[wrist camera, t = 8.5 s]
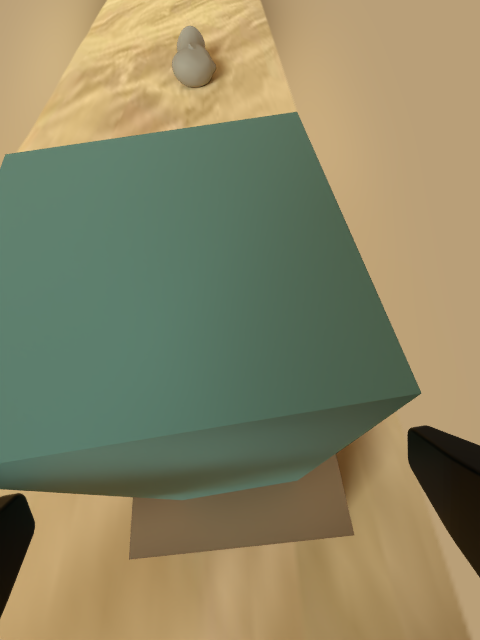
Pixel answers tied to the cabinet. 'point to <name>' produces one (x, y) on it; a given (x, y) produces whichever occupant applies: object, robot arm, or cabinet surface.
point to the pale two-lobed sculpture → (192, 59)
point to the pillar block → (184, 315)
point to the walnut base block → (243, 516)
